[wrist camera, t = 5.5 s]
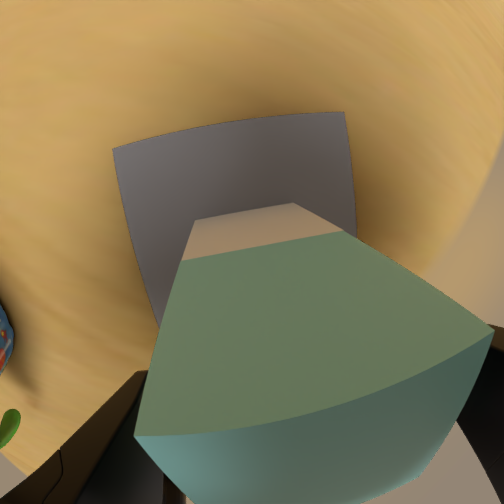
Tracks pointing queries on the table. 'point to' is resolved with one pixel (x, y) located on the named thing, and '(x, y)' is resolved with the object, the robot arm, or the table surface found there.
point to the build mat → (229, 183)
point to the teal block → (304, 374)
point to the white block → (253, 229)
